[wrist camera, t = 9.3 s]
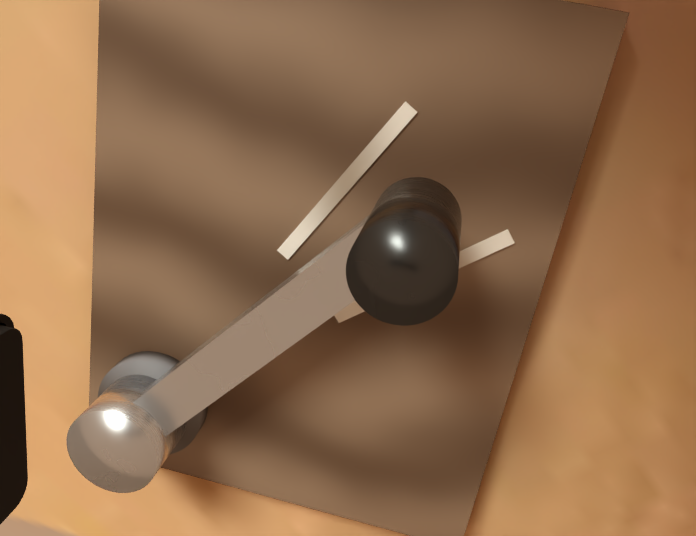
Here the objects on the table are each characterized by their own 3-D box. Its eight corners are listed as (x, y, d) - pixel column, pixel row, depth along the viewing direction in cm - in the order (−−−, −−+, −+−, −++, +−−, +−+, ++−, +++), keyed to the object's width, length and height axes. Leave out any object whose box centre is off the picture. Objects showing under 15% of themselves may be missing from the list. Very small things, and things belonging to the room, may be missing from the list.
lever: (419, 136, 23) (397, 182, 16) (487, 222, 24) (493, 299, 17) (87, 402, 30) (-23, 510, 23) (147, 463, 31) (56, 585, 24)
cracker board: (122, -78, 25) (86, -88, 23) (620, 13, 23) (636, 12, 21) (103, 430, 34) (76, 459, 32) (460, 526, 32) (459, 565, 30)
